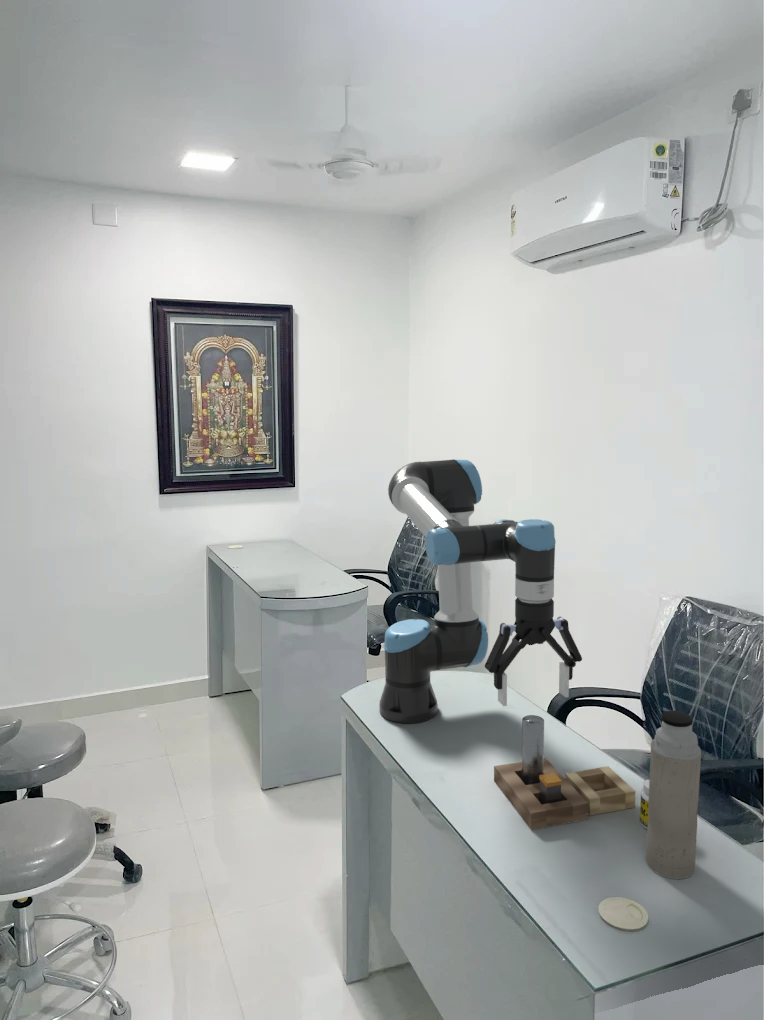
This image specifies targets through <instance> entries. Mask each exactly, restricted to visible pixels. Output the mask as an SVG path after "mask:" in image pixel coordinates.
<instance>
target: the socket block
mask: <svg viewBox="0 0 764 1020" xmlns="http://www.w3.org/2000/svg"><path fill="white" fill-rule="evenodd" d="M549 773H555V774H556V775H557V776H558V777H559V778H560V779H561V781H562V785H561V801H560V802H554V803H548V804H543V805H542V804H541V803H540V783H536V784H530V785H525V784H524V783H523V781H522V761H516V762H511V763H505V764H504V763H503V764H499V765H494V766H493V782H494V783H495V784H496V785H497V787H498V788H499V789H500V791H501V792H502V794H503V795H504V796H505V798H506V799H507V801H508V802H509V803H510V805H512V807H513V808H514V810H516V812H517V814H518V815H519V816H520V817H521V818H522V821H524V822H525V824H526V826H527V827H528V829H529V830H530V831H532V830H537V829H543V828H548V827H549V828H550V827H554V826H559V825H564V824H570V823H571V824H572V823H575V822H580V821H587V820H588V818H589V814H588V802H587V801H586V800H585V799H584V798H583V797H582V796H581V795H580V794H579V793H578V792H577V791H576V790H575V788H574V787H573V786H572V785H571V784H570V783H569V782H568V781H567V780H566V779H565V776H564V775H563V774H561V773H560V772H559V770H558V769H557V768H556V767H555V766H554V765H553V764H552V763H551V762H550V760H549V759H547V758H546V757H544V760H543V774H549Z"/></svg>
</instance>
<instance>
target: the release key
mask: <svg viewBox="0 0 764 1020" xmlns="http://www.w3.org/2000/svg"><path fill="white" fill-rule="evenodd" d="M539 779H540V803H541V804H542V805H543V804H548V803H554V802H560V801H561V785H562V781H561V779H560V778H559V777H558V776H557V775H556V774H555V773H549V774H543V775H539Z"/></svg>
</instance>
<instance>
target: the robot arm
mask: <svg viewBox="0 0 764 1020" xmlns="http://www.w3.org/2000/svg"><path fill="white" fill-rule="evenodd" d="M387 489H388V490H387V491H388V493H387V494H388V498H389V501H390V502H391V504H392V506H393V507H394V508H395V509H396V510H397V511H398V512H400V513H401V514H404V515H406V516H407V517H408V518H409V520H410V521H411V522H412V523H413V524H414V525H415V526H416V528H417V529H418V530H419V531H420V532H421V534H422V535H423V536H424V537H425V539H424V541H425V543H424V545H425V552H426V556H427V559H428V561H429V562H430V563H431V564H432V565H434V566H437V577H438V579H437V583H438V598H439V600H438V601H439V603H438V604H439V610H438V612H436V614H435V615H434V616H433V618H434V619H433V621H434V622H433V623H434V624H430V623H429V622H428V621H426V620H425V619H419V618H417V619H415V618H409V619H404V620H400V621H397V622H395V623H393V624H392V625H390V626H389V627H388V628H387V629H386V631H385V633H384V644H383V650H384V670H385V673H384V675H385V683H384V686H383V689H382V693H381V696H380V699H379V713H380V716H382V717H383V719H386V720H388V721H391V722H394V723H400V724H415V723H421V722H422V723H423V722H425V721H428V720H430V719H432V718H434V717H435V716H436V715H437V714H438V709H439V708H438V700H437V697H436V694H435V691H434V688H433V686H432V683H431V672H432V671H434V672H435V671H442V670H448V669H458V668H468V667H471V666H475V665H479V664H481V663H482V662H483V661H484V659H485V658H486V655H487V653H488V649H489V632H487V630H488V628H487V625H486V623H485V622H484V620H481V619H479V617H480V615H479V614H478V613H477V612H476V611H475V610H474V608H473V585H472V565H471V564H472V563H477V562H478V563H479V562H490V561H492V562H493V561H502V560H511V561H513V562H514V563H515V564H514V565H515V575H514V576H515V577H514V578H515V580H514V581H515V582H514V583H515V586H514V588H515V589H514V590H515V591H514V595H515V597H516V599H515V600H514V605H515V606H514V609H515V610H514V615H515V616H514V618H515V622H514V623H513V624H506V623H505V622H502V623H500V624H499V633H498V635H497V637H496V640H495V642H494V644H493V646H492V649H491V650H490V653H489V655H488V657H487V659H486V661H485V664H484V668H485V669H486V670H487V671H488V672H489V673H491V674H493V685H494V688H496V690H497V701H498V702H499V703H500V704H501V705H502V706H503V707H507V706H508V674H506V673H505V671H506V670H507V669H508V668H509V667H510V665H511V663H512V662H513V661H514V660H515V658H516V657H517V655H518V654H519V653H520V651H521V650H523V649H524V648H525V647H526V645H528V646H533V645H536V644H537V645H543V644H544V643H545V642H546V643H547V644H548V645H549V646H550V647H551V648H552V650H553V651H554V652H555V653H556V654H557V655H558V656H559V657H560V658H561V660H562V662H559V665H558V666H559V667H558V668H559V673H558V675H559V677H558V678H559V679H558V693H559V694H561V695H562V697H564V698H569V695H570V682H569V681H570V680H571V681H572V679H573V675H574V674H573V671H574V668H575V667H576V665H577V662H578V663H579V662H581V661H582V660H583V657H582V655H581V653H580V650H579V648H578V647H577V644H576V642H575V640H574V638H573V635H572V634H571V632H570V629H569V627H570V626H569V621H568V620H567V619H565V618H564V617H562V616H558V617H557V618H556V619H554V609H555V608H554V607H555V606H554V605H555V601H554V599H553V598H554V595H555V559H556V557H555V555H556V536H555V526H554V524H553V523H552V521H551V522H550V521H549V520H545V519H544V520H543V519H537V518H536V519H535V518H534V519H523V520H519V521H515V520H512V519H498V520H497V521H495V522H494V523H491V524H490V523H489V524H479V525H478V524H477V525H476V524H475V525H470V517H471V516H472V515H473V513H475V505H477V504H479V503H480V502H481V501H482V496H483V485H482V480H481V476H480V473H479V471H478V469H477V467H476V466H475V464H474V463H473V462H472V461H470V460H468V459H454V458H453V459H446V460H445V459H443V460H431V461H430V460H428V461H414V462H413V461H412V462H410V463H407V464H405V465H404V466H403V465H402V467H400V468H399V469H397V471H396V472H395V473H394V474H393V476H392V477H391V479H390V481H389V484H388V488H387ZM554 629H557V630H558V632H559V634H560V636H561V638H562V641H563V642H564V645H565V647H566V649H567V650H568V653H569V654H570V655H569V654H568V653H567V652H566V651H565V650H564V648H563V647H562V646H561V645H560V644H559V643H558V641H557V640H556V639H555V638H554V636H552V634H551V633H552V632H553V630H554ZM514 632H515V635H514V636H513V633H514ZM511 636H513V638H512V639H511V643H510V644H509V645H508V643H509V641H510V637H511ZM507 645H508V646H507Z"/></svg>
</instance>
